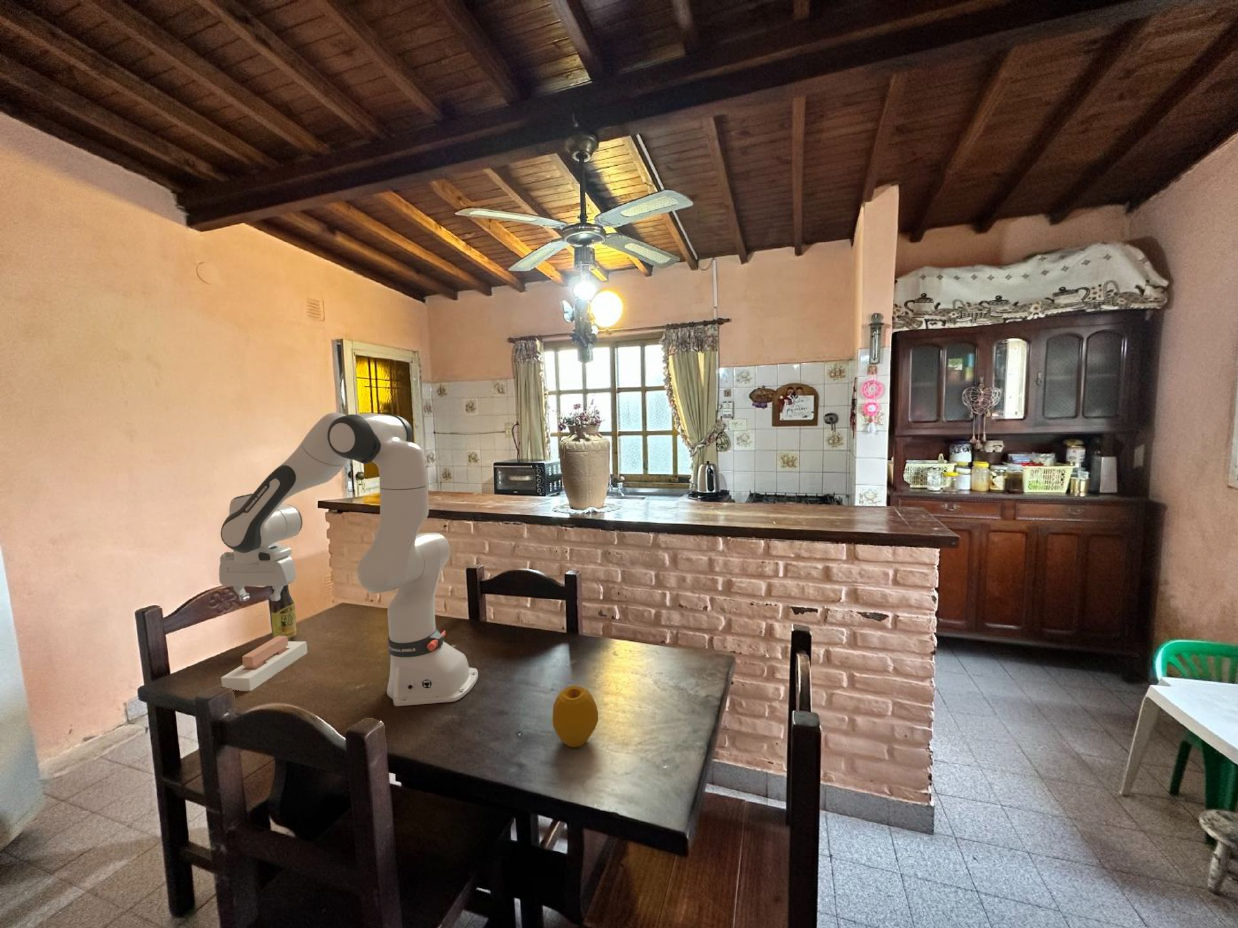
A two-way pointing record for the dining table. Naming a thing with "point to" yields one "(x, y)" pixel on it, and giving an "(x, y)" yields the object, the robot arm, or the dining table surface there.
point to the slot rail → (264, 668)
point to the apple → (574, 715)
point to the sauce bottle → (284, 616)
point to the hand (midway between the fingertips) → (260, 600)
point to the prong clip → (265, 652)
